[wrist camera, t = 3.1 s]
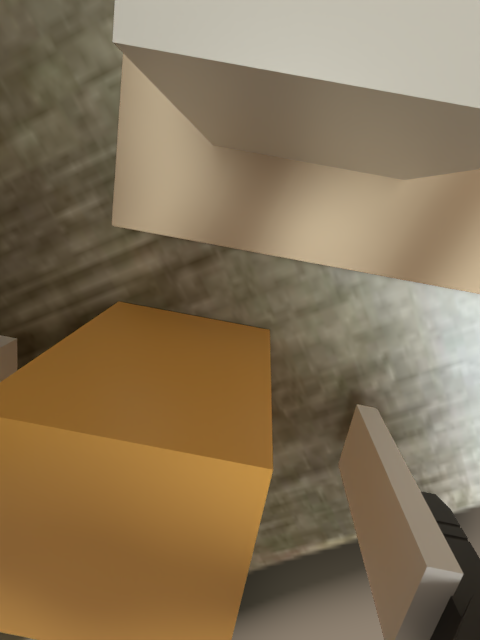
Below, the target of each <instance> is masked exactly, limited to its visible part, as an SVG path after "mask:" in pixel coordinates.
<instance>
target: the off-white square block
mask: <svg viewBox="0 0 480 640" xmlns="http://www.w3.org/2000/svg"><path fill="white" fill-rule="evenodd" d="M113 43H114V44H115V45H116V46H117V47H118V48H119V49H120V50H121V51H122V52H123V53H124V54H125V55H126V56H127V57H128V59H129V60H130V61H131V62H132V63H133V64H134V65H135V66H136V67H137V68H138V69H139V70H140V71H141V72H142V73H143V74H144V75H145V76H146V77H147V78H148V79H149V80H150V81H151V82H152V83H153V84H154V85H155V86H156V87H157V88H158V89H159V90H160V91H161V92H162V93H163V94H164V95H165V96H166V97H167V99H168V100H169V101H170V102H171V103H172V104H173V105H174V106H175V107H176V108H177V109H178V110H179V111H180V112H181V113H182V114H183V115H184V116H185V117H186V118H187V119H188V120H189V121H190V122H191V123H192V124H193V125H194V126H195V127H196V128H197V129H198V130H199V131H200V132H201V133H202V134H203V135H204V136H205V137H206V139H207V140H208V141H209V142H210V143H211V144H212V145H215V146H220V147H226V148H231V149H237V150H242V151H248V152H253V153H259V154H264V155H270V156H275V157H280V158H286V159H291V160H297V161H302V162H308V163H313V164H319V165H324V166H330V167H335V168H341V169H346V170H352V171H357V172H363V173H368V174H374V175H379V176H384V177H390V178H395V179H401V180H408V179H415V178H422V177H429V176H435V175H442V174H449V173H456V172H463V171H469V170H476V169H480V0H115V9H114V26H113Z"/></svg>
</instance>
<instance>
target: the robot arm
mask: <svg viewBox="0 0 480 640" xmlns="http://www.w3.org/2000/svg"><path fill="white" fill-rule="evenodd" d="M16 371H17V338H12V337H7V336H2V335H0V382H1V381H3V380H4V379H6V378H7V377H9V376H10V375H12V374H13V373H14V372H16ZM338 466H339V469H340V473H341V477H342V481H343V485H344V488H345V492H346V496H347V500H348V504H349V507H350V511H351V515H352V519H353V523H354V526H355V530H356V534H357V538H358V542H359V545H360V549H361V553H362V556H363V561H364V564H365V568H366V572H367V575H368V580H369V583H370V587H371V591H372V595H373V599H374V602H375V606H376V610H377V614H378V618H379V621H380V625H381V629H382V633H383V637H384V640H480V558H479V557H478V555H477V553H476V552H475V550H474V548H473V547H472V545H471V543H470V542H468V540H467V536H466V535H465V533H464V531H463V530H462V528H460V525H459V523H458V521H457V520H456V518H455V516H454V514H453V513H452V511H451V509H450V508H449V507H448V506H447V505H446V504H445V503H444V502H443V501H442V500H441V499H440V498H439V497H438V496H437V495H436V494H431V493H425V492H421V491H420V490H419V488H418V486H417V484H416V482H415V480H414V478H413V476H412V474H411V472H410V470H409V468H408V467H407V465H406V463H405V461H404V459H403V457H402V455H401V453H400V451H399V449H398V447H397V446H396V444H395V442H394V440H393V438H392V436H391V434H390V432H389V430H388V428H387V426H386V425H385V423H384V421H383V419H382V417H381V415H380V413H379V411H378V409H377V408H374V407H369V406H363V405H358V404H357V405H356V408H355V411H354V415H353V418H352V421H351V424H350V428H349V431H348V434H347V437H346V441H345V444H344V447H343V450H342V454H341V457H340V460H339V463H338Z"/></svg>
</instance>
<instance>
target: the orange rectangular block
mask: <svg viewBox="0 0 480 640" xmlns="http://www.w3.org/2000/svg"><path fill="white" fill-rule="evenodd" d="M272 472H273V445H272V402H271V359H270V330H268V329H262V328H257V327H252V326H247V325H241V324H236V323H231V322H225V321H220V320H215V319H209V318H204V317H199V316H193V315H188V314H183V313H177V312H172V311H167V310H161V309H156V308H151V307H146V306H140V305H135V304H130V303H124V302H117V303H116V304H114V305H113V306H111V307H110V308H108V309H107V310H105V311H104V312H102V313H101V314H100V315H98V316H97V317H95V318H94V319H92V320H91V321H89V322H88V323H86V324H85V325H83V326H82V327H80V328H79V329H78V330H76V331H75V332H73V333H72V334H70V335H69V336H67V337H66V338H64V339H63V340H61V341H60V342H58V343H57V344H56V345H54V346H53V347H51V348H50V349H48V350H47V351H45V352H44V353H42V354H41V355H39V356H38V357H36V358H35V359H34V360H32V361H31V362H29V363H28V364H26V365H25V366H23V367H22V368H20V369H19V370H17V371H16V372H14V373H13V374H12V375H10V376H9V377H7V378H6V379H4V380H3V381H1V382H0V632H2V633H7V634H12V635H17V636H22V637H27V638H32V639H37V640H231V639H232V635H233V631H234V627H235V623H236V619H237V614H238V611H239V606H240V602H241V598H242V594H243V590H244V586H245V582H246V578H247V574H248V570H249V566H250V562H251V558H252V554H253V550H254V545H255V541H256V537H257V533H258V529H259V525H260V521H261V517H262V513H263V509H264V505H265V501H266V497H267V492H268V488H269V484H270V480H271V476H272Z"/></svg>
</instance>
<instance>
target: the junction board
mask: <svg viewBox="0 0 480 640" xmlns="http://www.w3.org/2000/svg"><path fill="white" fill-rule="evenodd" d="M112 226H117V227H122V228H127V229H133V230H138V231H144V232H149V233H154V234H160V235H165V236H170V237H176V238H181V239H187V240H192V241H197V242H203V243H208V244H214V245H219V246H224V247H230V248H235V249H240V250H246V251H251V252H257V253H262V254H267V255H273V256H278V257H283V258H289V259H294V260H300V261H305V262H310V263H316V264H321V265H327V266H332V267H337V268H343V269H348V270H353V271H359V272H364V273H370V274H375V275H380V276H386V277H391V278H397V279H402V280H407V281H413V282H418V283H423V284H429V285H434V286H440V287H445V288H450V289H456V290H461V291H467V292H472V293H477V294H480V169H476V170H469V171H463V172H456V173H449V174H442V175H435V176H429V177H422V178H415V179H408V180H401V179H395V178H390V177H384V176H379V175H374V174H368V173H363V172H357V171H352V170H346V169H341V168H335V167H330V166H324V165H319V164H313V163H308V162H302V161H297V160H291V159H286V158H280V157H275V156H270V155H264V154H259V153H253V152H248V151H242V150H237V149H231V148H226V147H220V146H215V145H212V144H211V143H210V142H209V141H208V140H207V139H206V137H205V136H204V135H203V134H202V133H201V132H200V131H199V130H198V129H197V128H196V127H195V126H194V125H193V124H192V123H191V122H190V121H189V120H188V119H187V118H186V117H185V116H184V115H183V114H182V113H181V112H180V111H179V110H178V109H177V108H176V107H175V106H174V105H173V104H172V103H171V102H170V101H169V100H168V99H167V97H166V96H165V95H164V94H163V93H162V92H161V91H160V90H159V89H158V88H157V87H156V86H155V85H154V84H153V83H152V82H151V81H150V80H149V79H148V78H147V77H146V76H145V75H144V74H143V73H142V72H141V71H140V70H139V69H138V68H137V67H136V66H135V65H134V64H133V63H132V62H131V61H130V60H129V59H128V57H127V56H126V55H125V54H124V53H123V63H122V78H121V93H120V108H119V123H118V138H117V153H116V169H115V184H114V199H113V214H112Z"/></svg>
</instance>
